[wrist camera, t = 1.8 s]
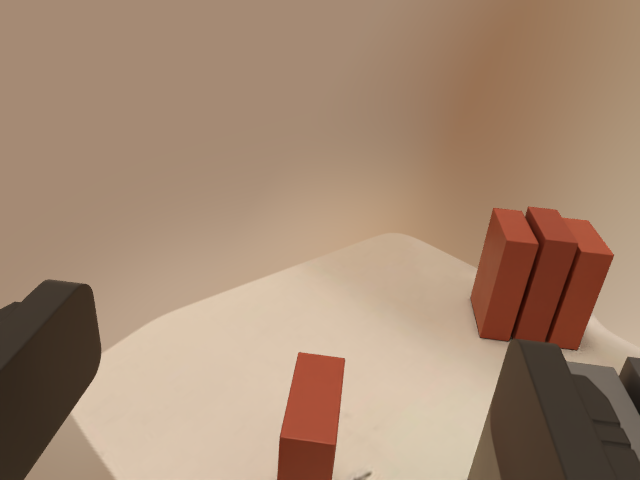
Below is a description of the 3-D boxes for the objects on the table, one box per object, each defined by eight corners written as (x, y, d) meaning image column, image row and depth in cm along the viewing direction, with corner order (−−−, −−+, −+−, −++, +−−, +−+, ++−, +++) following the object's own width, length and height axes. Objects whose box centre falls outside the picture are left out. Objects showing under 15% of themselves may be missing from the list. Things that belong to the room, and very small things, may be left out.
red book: (271, 566, 29) (279, 437, 25) (289, 472, 35) (298, 351, 30) (319, 573, 29) (336, 445, 24) (329, 478, 35) (345, 357, 30)
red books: (479, 337, 49) (508, 234, 44) (470, 297, 54) (494, 202, 49) (577, 350, 48) (617, 247, 43) (557, 308, 54) (590, 213, 49)
